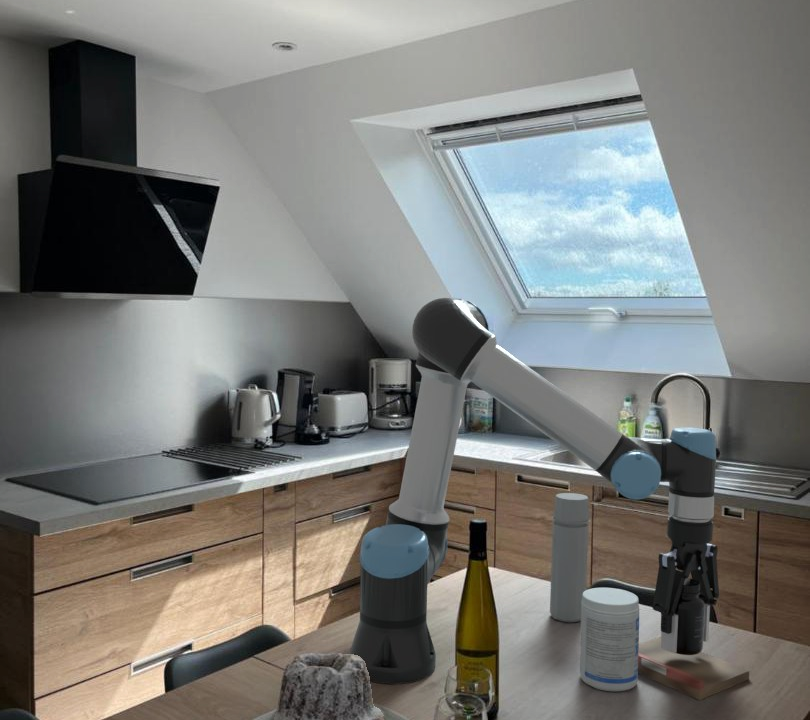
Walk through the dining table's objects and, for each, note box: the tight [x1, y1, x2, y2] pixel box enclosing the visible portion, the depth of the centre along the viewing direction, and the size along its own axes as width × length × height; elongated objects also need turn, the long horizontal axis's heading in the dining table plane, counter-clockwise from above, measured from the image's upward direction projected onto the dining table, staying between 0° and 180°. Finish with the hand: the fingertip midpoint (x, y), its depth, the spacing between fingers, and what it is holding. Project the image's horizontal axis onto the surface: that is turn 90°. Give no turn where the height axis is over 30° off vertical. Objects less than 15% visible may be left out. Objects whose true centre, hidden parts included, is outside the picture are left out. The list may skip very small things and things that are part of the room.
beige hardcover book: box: [638, 636, 750, 701], centre depth 146 cm, size 18×14×3 cm
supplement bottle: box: [669, 577, 705, 655], centre depth 146 cm, size 7×7×12 cm
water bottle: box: [549, 492, 591, 624], centre depth 171 cm, size 9×8×25 cm
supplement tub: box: [579, 587, 640, 692], centre depth 141 cm, size 10×10×15 cm
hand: (684, 644), depth 147 cm, fingers open, 8 cm apart
